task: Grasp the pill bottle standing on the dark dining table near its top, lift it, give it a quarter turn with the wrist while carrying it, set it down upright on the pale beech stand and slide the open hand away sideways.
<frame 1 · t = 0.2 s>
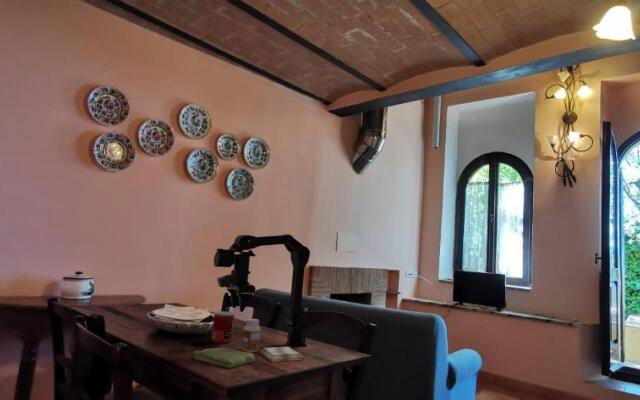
hand: (237, 309, 158), 14 cm above the table, tool pointing down, fingers open, 9 cm apart
pill bottle: (249, 351, 154), on the table
canned food: (221, 342, 165), on the table
stand: (280, 356, 149), on the table
washcloth: (223, 362, 139), on the table
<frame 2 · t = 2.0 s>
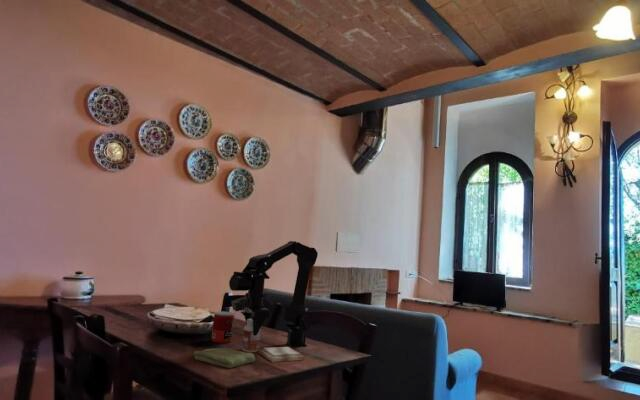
hand: (251, 333, 155), 6 cm above the table, tool pointing down, fingers closed on pill bottle, 6 cm apart
pill bottle: (250, 351, 154), on the table, touching gripper
everything else where it was.
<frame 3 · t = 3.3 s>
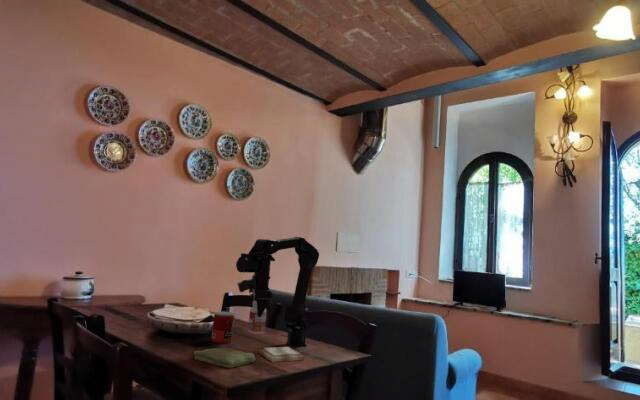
hand: (258, 315, 155), 13 cm above the table, tool pointing down, fingers closed on pill bottle, 6 cm apart
pill bottle: (256, 332, 154), point 7 cm above the table, touching gripper
everything else where it was.
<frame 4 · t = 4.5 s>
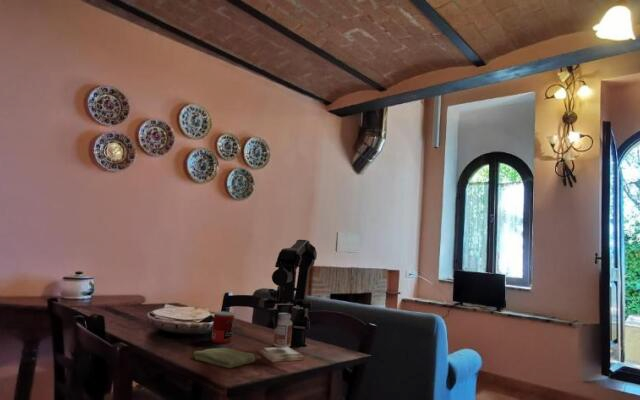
hand: (283, 328, 151), 10 cm above the table, tool pointing down, fingers closed on pill bottle, 6 cm apart
pill bottle: (281, 346, 150), point 4 cm above the table, touching gripper
everything else where it was.
when the fingers open (9 cm above the table, at t = 5.1 s): pill bottle stays where it is, resting on stand.
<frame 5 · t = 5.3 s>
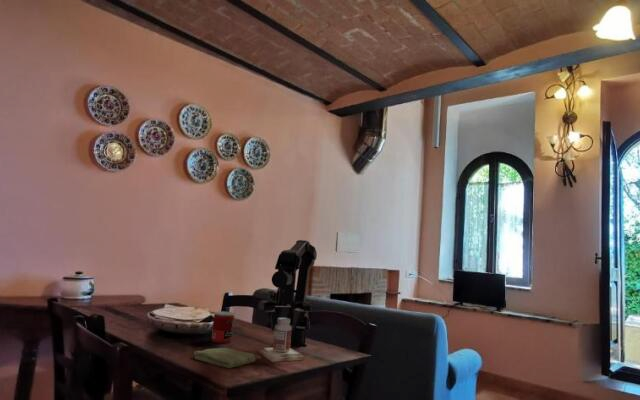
hand: (283, 330, 151), 9 cm above the table, tool pointing down, fingers open, 8 cm apart
pill bottle: (281, 351, 150), point 2 cm above the table, touching stand
everything else where it was.
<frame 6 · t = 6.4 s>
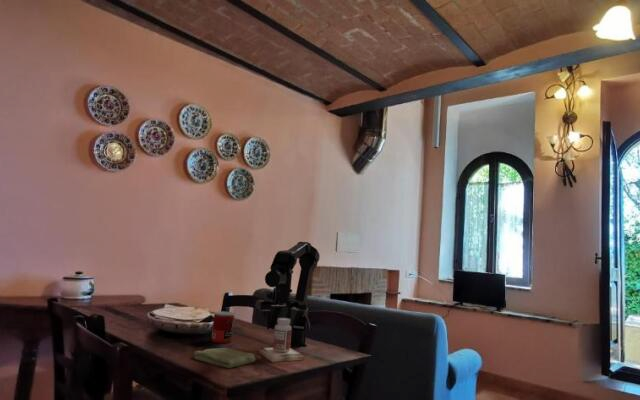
hand: (279, 328, 154), 9 cm above the table, tool pointing down, fingers open, 9 cm apart
nothing on the table moved.
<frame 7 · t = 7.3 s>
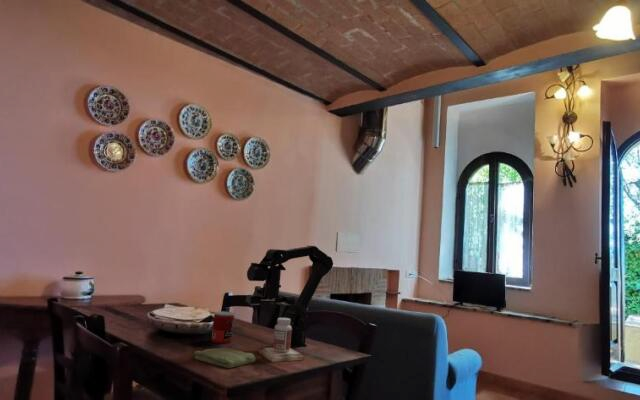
hand: (268, 322, 162), 9 cm above the table, tool pointing down, fingers open, 9 cm apart
nothing on the table moved.
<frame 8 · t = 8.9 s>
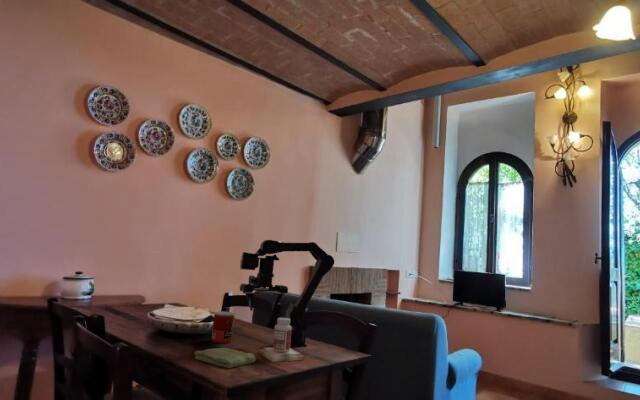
hand: (262, 310, 167), 13 cm above the table, tool pointing down, fingers open, 9 cm apart
nothing on the table moved.
at the end: pill bottle inside the target area on the stand (0.1 cm from its centre), point 1.8 cm above the stand's base; pill bottle tilted 0°; the gripper is holding nothing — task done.
